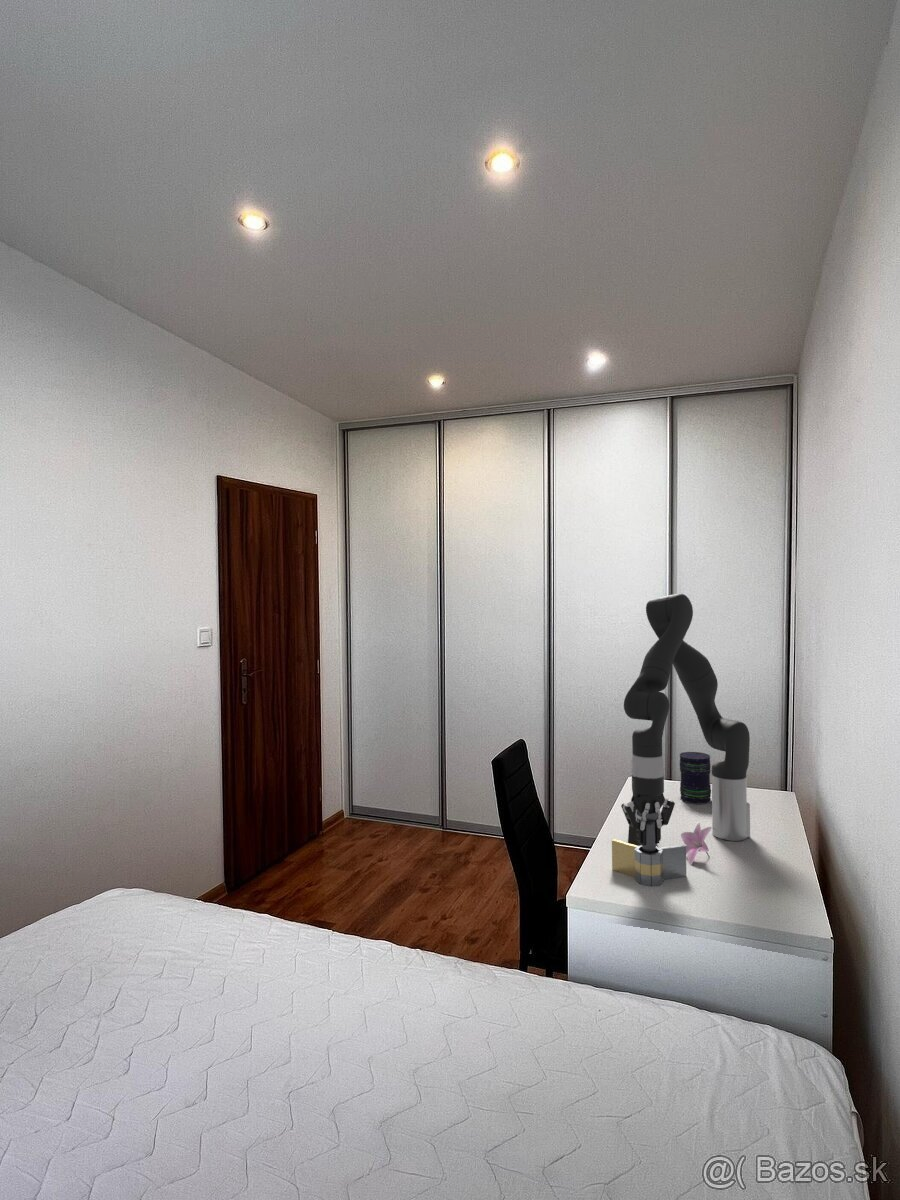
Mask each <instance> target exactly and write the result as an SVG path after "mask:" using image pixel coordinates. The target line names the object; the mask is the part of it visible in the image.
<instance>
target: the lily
mask: <svg viewBox="0 0 900 1200" xmlns="http://www.w3.org/2000/svg"><path fill="white" fill-rule="evenodd" d="M710 831H712V826H707V827H705V828H702V829H701V823H700V822H698V823H697V825H696V826H695V828H694V830H693V832H692V831H687V832H686V831H683V832H681V833H680V838H681V839H682V842H683V845H685V846H686V855H687V861H688V863H689V865H690V866H692V864H693V863H694V860H695V857H696V856H697V854H698V852H700V853H702V852H703V853H705V854H706V855H707V857H708V858H710V855H709V853H708V852H709V851H710V849H709V847H708V845H707V843H706V842H705V839H707V838H706V837H708V835H709V833H710Z"/></svg>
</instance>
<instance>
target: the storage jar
mask: <svg viewBox="0 0 900 1200" xmlns="http://www.w3.org/2000/svg"><path fill="white" fill-rule="evenodd" d="M711 768H712V764H711V755H710V754H708V753H705V752H700V751H699V752H697V751H687V752H681V753H679V771H680V782H679V786H680V787H679V792H680V797H679V798H680V800H681V801H683V802H685V803H687V804H688V803H689V804H695V805H705V804H709V803H712V784H711V781H710V779H711V777H710V776H711V775H710V774H711V772H712V769H711Z"/></svg>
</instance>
